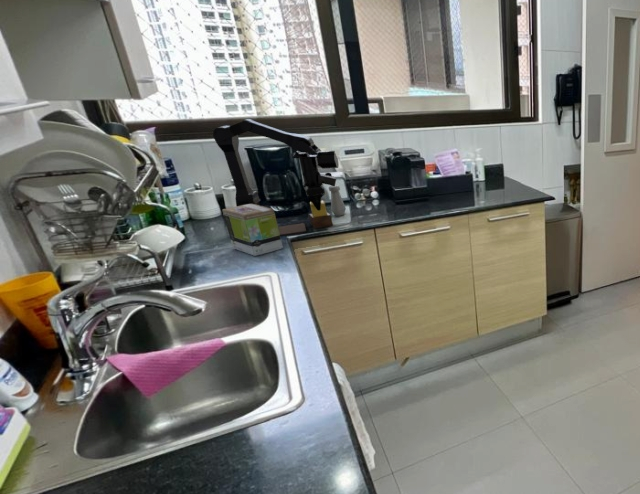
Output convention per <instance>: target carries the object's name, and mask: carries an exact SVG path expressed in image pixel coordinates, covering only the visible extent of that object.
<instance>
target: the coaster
mask: <svg viewBox="0 0 640 494" xmlns="http://www.w3.org/2000/svg"><path fill="white" fill-rule="evenodd" d="M278 230H279V233H280V237H282V236H290V235H297V234H302V233H303V234H304V233H307V228H306V224H305V222H302V223H294V224H287V225H280V226H279V225H278Z"/></svg>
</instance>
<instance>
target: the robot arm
mask: <svg viewBox="0 0 640 494" xmlns="http://www.w3.org/2000/svg"><path fill="white" fill-rule="evenodd" d="M247 132H248V133H252V134H256V135H258V136H262V137H265V138H267V139H270V140H274V141H277V142H280V143H283V144H285V145H286V146H288V147H290V149H293V150H295V153H294V154H293V155H292V156H291V158H292V159H298V162H299V166H300V170H301V175H302V179H303V181H302V185H303V188H304V190H305V194H306V196H307V198H308V199H309V201H310V202H312V203H313V205H314V206H315V208H316V209H317V210H318V211H319V210H321V201H322V198H323V196H325V195H326V192H325V188H324V186H323V184H324V185H328V186H335V185H336V184H337V183H336V182H337V178H336V176H334V175H332V173H331V172H329V171H326V172H325V173H321V172H320V170H319V168H321V169H325V170H326V169H338V168H339V158H338V156H337V154H336V151H335V150H334V149H333V150H321V149H320V147H318V146H317V145H316V144H315V142H314V139H313V138H312V137H311V136H309V135H306V134H299V133H292V132H288V131H284V130H281V129H278V128H275V127H272V126H269V125H267V124H264V123H260V122H257V121H255V120H253V119H250V118H247V119H243V120H241V121H239V122H238V123H235V124H232V125H223V126H219V127H215V128H214V130H213V131H212V137H213V139H214V141H215V143H216V145H217V146H218V148H219V149H220V150H221V151H222V153H223V155H224V158H225V161H226V163H227V166H228V169H229V173H230V175H231V179H232V182H233V185H234V188H235V205H236V206H235V207H237V206H242V205H247V204H255V205H259V206H260V201H261V198H260V197H259V191H258V190H253V189H252V188H251V186H250V184H249V180H248V177H247V173H246V170H245V166H244V164H243V161H242V158H241V155H240V151H239V147H240V139H239V136H240V135H243V134H245V133H247Z"/></svg>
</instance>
